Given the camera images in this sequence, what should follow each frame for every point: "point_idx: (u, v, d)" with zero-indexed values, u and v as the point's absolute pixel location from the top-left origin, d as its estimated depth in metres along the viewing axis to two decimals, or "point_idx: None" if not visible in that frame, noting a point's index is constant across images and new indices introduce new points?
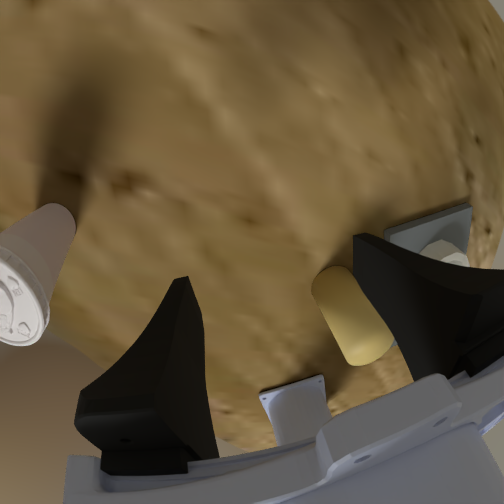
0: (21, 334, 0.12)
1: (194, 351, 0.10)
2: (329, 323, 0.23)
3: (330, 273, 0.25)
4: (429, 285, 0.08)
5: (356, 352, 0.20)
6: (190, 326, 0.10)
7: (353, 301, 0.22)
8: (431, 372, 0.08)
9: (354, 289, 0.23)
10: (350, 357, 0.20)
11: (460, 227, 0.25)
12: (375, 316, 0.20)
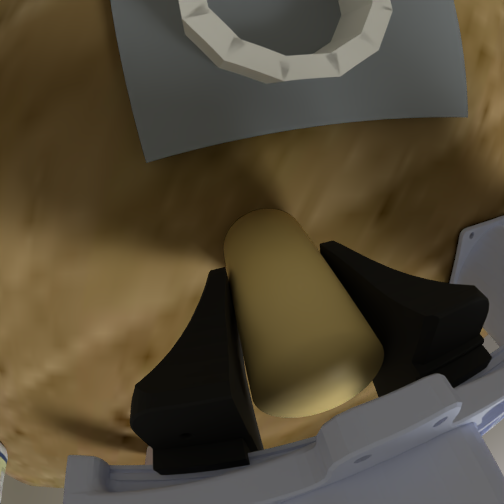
0: None
1: (236, 342, 0.10)
2: None
3: None
4: (386, 301, 0.08)
5: (317, 402, 0.09)
6: (232, 317, 0.10)
7: None
8: (392, 390, 0.08)
9: (232, 286, 0.11)
10: (327, 406, 0.09)
11: None
12: (247, 351, 0.08)
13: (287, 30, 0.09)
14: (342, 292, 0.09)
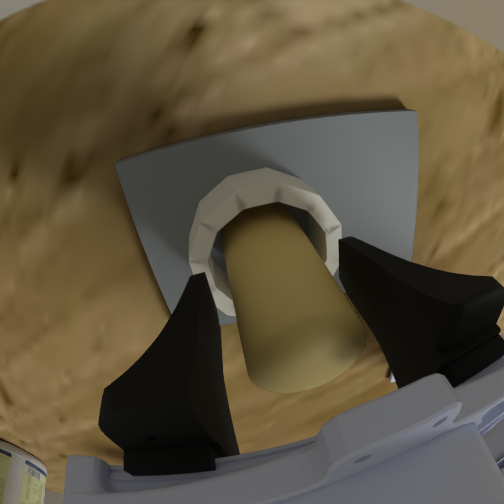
0: None
1: (213, 347, 0.10)
2: None
3: None
4: (410, 292, 0.08)
5: (306, 378, 0.10)
6: (209, 322, 0.10)
7: (234, 308, 0.12)
8: (414, 381, 0.08)
9: (230, 272, 0.12)
10: (315, 383, 0.10)
11: (163, 185, 0.14)
12: (243, 330, 0.09)
13: None
14: (329, 279, 0.10)
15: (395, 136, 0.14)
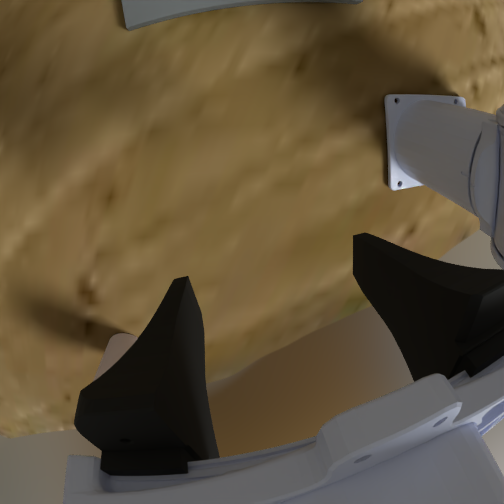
0: None
1: (194, 351, 0.10)
2: None
3: None
4: (429, 285, 0.08)
5: None
6: (190, 326, 0.10)
7: None
8: (430, 372, 0.08)
9: None
10: None
11: None
12: None
13: None
14: None
15: None
